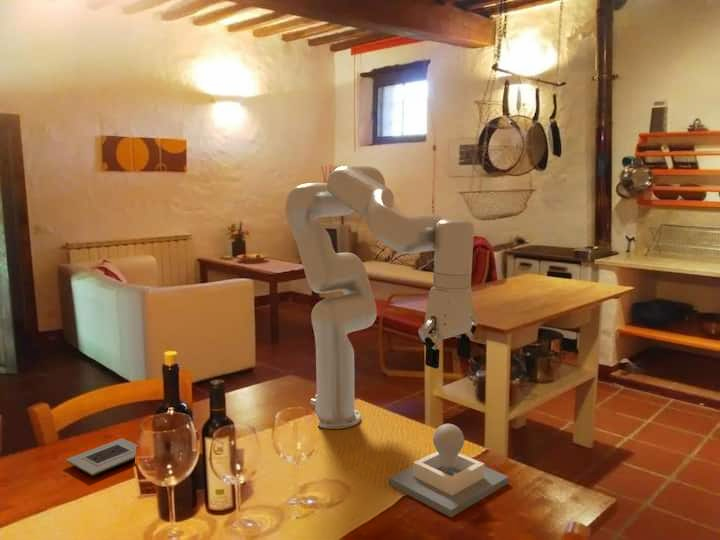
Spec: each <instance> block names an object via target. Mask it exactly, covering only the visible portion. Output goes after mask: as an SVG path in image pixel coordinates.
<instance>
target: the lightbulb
mask: <svg viewBox="0 0 720 540" xmlns="http://www.w3.org/2000/svg"><path fill="white" fill-rule="evenodd" d="M432 442H433V445H434V447H435V449H436V451H438V453H439V457H440V464H441V472H443V473H445V474H448V475H450V476H453V475H454V470H455V465H456V459H457V456H458V454H459V453H461V451H462V449H463V447H464V445H465V436H464V434H463V431H462V430H461V429H460V428H459V427H458V426H456V425H455V424H453V423H452V424H451V423H444V424H441V425H440V426H438V427H437V428H436V429H435V431H434V433H433V437H432Z"/></svg>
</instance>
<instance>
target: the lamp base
mask: <svg viewBox="0 0 720 540" xmlns="http://www.w3.org/2000/svg"><path fill="white" fill-rule="evenodd" d="M412 463H413V465H412V466H410V467H408V468H406V469H403V470H401V471H400V472H397V473H395V474H393V475H391V476H389V477H388V485H389V486H391V487H392V488H394V489H397V490H399V491H400V492H402V493H404V494H406V495H407V496H409V497H411V498H414V499H415V500H417V501H419V502H421V503H422V504H423V505H424V504H425V505H426V506H428V507H430V508H432V509H434V510H436V511H438V512H440V513H441V514H444V515H446V516H447V517H449V518H452V517H454V516H456V515H458V514H459V513H461V512H463V511H464V510H466V509H467V508H469V507H471V506H473V505H475V504H477V503H478V502H480V501H481V500H483V499H485V498H486V497H488V496H489V495H492V494H493V493H495V492H497V491H499V489H501V488H504V487H505V486H506V485H508V484H509V476H508V475H506V474H503V473H501V472H499V471H496V470H494V469H492V468H490V467H487V466H485V463H484V462H482V461H479V460H477V459H474V458H473V457H469V456H467V455H465V454H463V453H461V452H459V454H458V456H457V459H456V465H455V470H454V475H453V476H450V475H448V474H445V473H443V472H441V464H440V457H439V453H438V451H437V450H436V451H434V452H433V453H430V454H428V455H426V456H424V457H422V458H420V459H418V460H415V461H413V462H412Z"/></svg>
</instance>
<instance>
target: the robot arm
mask: <svg viewBox="0 0 720 540" xmlns="http://www.w3.org/2000/svg"><path fill="white" fill-rule="evenodd" d="M394 201H395V198H394V193H393V192H392V190H391V189H390V188H389V187H387V186H386V180H385V177H384V175H383V174H382V173H381V171H380V170H379V169H377V168H375V167H373V166H369V165H362V166H361V165H346V166H345V165H343V166H339V167H337V168H335V169H333V170H332V171H331V172H330V174H329V175H328V177H327V180H326V182H313V183H312V182H310V183H303V184H300V185H297V186H295V187H293V188H292V189H291V190H290V192H289V193H288V195H287V197H286V201H285V209H284V210H285V218H286V222H287V224H288V227H289V229H290V231H291V233H292V235H293V237H294V240H295V242H296V245H297V249H298V254H299V256H300V257H299V258H300V261H301V264H302V268H303V270H304V274H305V278H306V281H307V284H308V287H309V288H310V289H311V291H313V293H316V294H328V293H334V292H340V291H342V293H343V294H341V295H336V296H331V297H327V298H323V299H321V300H319V301H318V302H317V303H315V305H314V306H313V308H312V310H311V315H310V317H311V319H310V320H311V325H312V329H313V334H314V342H315V363H316V365H315V367H316V373H315V374H316V394H315V395H314V397H313V398H311V399H310V400H309V401H310V402H309V403H310V404H311V405H313V406H314V409H315V410H314V411H313V412H315V413H316V414H317V416H318V421H319V426H318V427H319V428H323V429H329V430H341V429H348V428H352V427H354V426H355V425H358V424H359V422H360V421H361V417H362V416H361V413H360V411H359V410H358V409H355V407H356V406H355V350H354V347H353V345H352V343H351V341H350V340H349V338H348V334H349V333H352V332H356V331H361V330H364V329H368V328H369V327H371V326H372V325H373V324H374V323H375V321H376V319H377V311H378V310H377V303H376V302H375V301H376V300H375V298H374V294H373V290H372V286H371V283H370V279H369V276H368V272H367V269H366V267H365V265H364V263H363V261H362V259H360V257H359V256H358V255H356V254H355V253H352V252H338V253H337V252H336V251H335V249H334V246H333V244H332V243H333V242H332V239H331V236H330V234H329V232H328V231H327V230H326V228H325V227H324V226H323V225H322V224H321V223H320V222H319V221H318V218H329V217H330V218H333V217H334V218H335V217H343V216H347V215H350V214H352V213H354V212H355V213H356V214H357V215H359V216H360V217H362V218H363V219H365V221H366V225H367V228H368V230H369V232H370V233H371V235H372V237H373V238H375V240H377V241H378V242H380V243H381V244H383V245H384V246H386V247H387V248H389V249H390V250H392V251H394V252H397V253H399V254H403V255H410V254H417V253H423V252H433V251H434V258H433V259H434V261H433V280H432V281H433V282H432V283H433V284H432V287H430V289H429V293H428V296H427V302H426V308H425V309H426V310H425V317H424V324H422V326H421V325H420V327H419V328H418V331H417V332H418V335H419V337H420V341H421V343H422V344H423V347H425V357H424V358H425V359H424V360H425V361H424V363H425V366H426V367H429V368H433V369H439V367H440V354H441V353H440V352H441V351H440V349H439V346H440V345H441V342H442V340H444V339H449V338H453V337H456V336H457V346H456V356H458V357H460V358H463V359H466V360H468V359H471V352H472V351H471V350H472V349H471V348H472V341H473V340H474V334H475V332H476V330H477V326H478V323H479V321H480V317H479V316H478V315H476V314H474V310H473V309H474V307H473V305H474V304H473V301H474V300H473V290H472V271H473V269H472V268H473V255H474V254H473V251H474V250H473V249H474V237H475V236H474V234H475V233H474V231H475V230H474V229H475V228H474V227H475V226H474V224H473V222H472V221H470V220H467V219H463V218H462V219H461V218H448V217H445V216H442V215H437V214H427V215H425V214H423V215H421V214H420V215H411V216H404V215H402V214H400V213H398V212H396V211H395V210H393V206H394ZM434 338H435V339H434ZM433 339H434V341H433Z"/></svg>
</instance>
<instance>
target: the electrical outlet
mask: <svg viewBox="0 0 720 540" xmlns="http://www.w3.org/2000/svg"><path fill="white" fill-rule="evenodd" d="M136 447H137V444H136V443H134V442H132V441H129V440H128V439H125V438H118V439H116V440H112V441H110V442H108V443H104V444H102V445H99V446H97V447H95V448H92V449H90V450H87V451H84V452H82V453H79V454H77V455H76V454H75V455H74V456H71V457H68V458H66V459H65V461H66V462H67V463H69V464H71V465H72V466H74V467H76V468H78V469H80V470H81V471H83V472H85V473H86V474H89V475H90V476H92V477H95V476H97V475H100V474H102V473H104V472H107V471H109V470H111V469H112V470H113V469H114V468H117V467H119V466H122V465H123V464H126V463H129V462H131V461H133V459H134V458H135V454H136ZM134 460H135V459H134Z"/></svg>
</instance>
